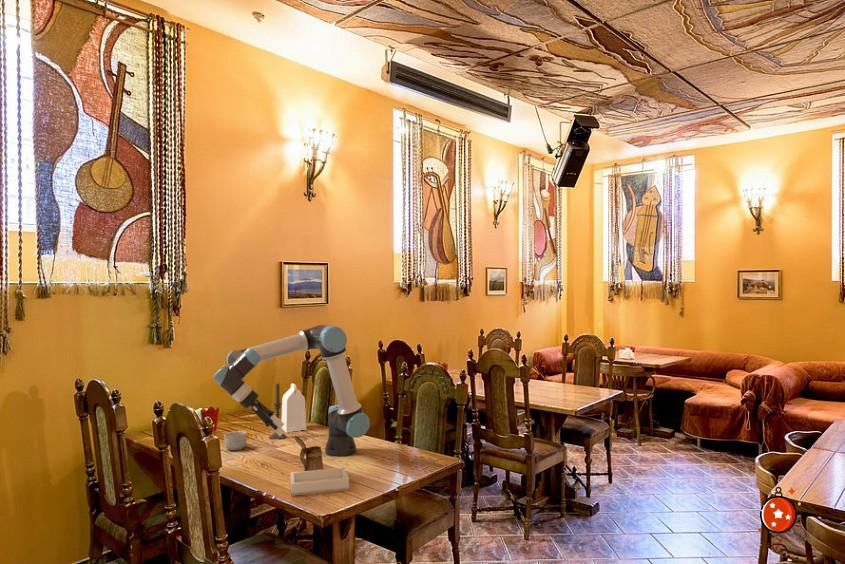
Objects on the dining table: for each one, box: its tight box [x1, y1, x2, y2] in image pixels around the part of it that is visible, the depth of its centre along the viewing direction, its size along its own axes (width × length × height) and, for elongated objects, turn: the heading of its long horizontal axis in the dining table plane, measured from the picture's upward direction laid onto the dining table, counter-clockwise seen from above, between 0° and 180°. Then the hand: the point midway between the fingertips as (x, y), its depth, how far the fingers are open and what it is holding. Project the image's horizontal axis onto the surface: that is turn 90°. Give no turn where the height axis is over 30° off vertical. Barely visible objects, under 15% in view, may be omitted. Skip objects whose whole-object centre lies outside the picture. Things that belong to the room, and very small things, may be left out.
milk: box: [280, 383, 307, 433], centre depth 321 cm, size 12×12×26 cm
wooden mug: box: [294, 435, 324, 471], centre depth 238 cm, size 9×14×18 cm, turn 131°
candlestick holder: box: [268, 382, 287, 440], centre depth 303 cm, size 9×9×30 cm
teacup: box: [223, 430, 248, 452], centre depth 282 cm, size 14×11×8 cm
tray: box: [289, 467, 350, 497], centre depth 223 cm, size 22×15×4 cm
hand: (282, 430), depth 235 cm, fingers open, 13 cm apart
